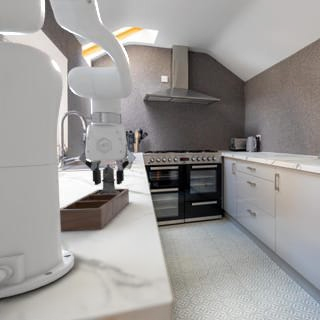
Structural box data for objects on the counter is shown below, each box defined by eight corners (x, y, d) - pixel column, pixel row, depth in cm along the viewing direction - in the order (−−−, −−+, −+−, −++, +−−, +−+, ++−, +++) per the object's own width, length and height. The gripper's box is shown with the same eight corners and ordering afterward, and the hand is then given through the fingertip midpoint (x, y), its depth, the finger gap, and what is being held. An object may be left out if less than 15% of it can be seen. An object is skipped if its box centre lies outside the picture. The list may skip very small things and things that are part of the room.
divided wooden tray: (101, 228, 56) (100, 208, 56) (56, 231, 55) (55, 210, 54) (128, 202, 81) (128, 188, 80) (98, 203, 79) (98, 189, 79)
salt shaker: (124, 203, 78) (123, 163, 77) (113, 208, 72) (111, 165, 71) (106, 202, 79) (104, 163, 78) (93, 207, 73) (91, 164, 72)
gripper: (67, 118, 69) (70, 187, 70) (135, 119, 72) (137, 185, 73) (79, 120, 76) (81, 182, 77) (141, 121, 79) (142, 181, 80)
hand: (108, 183), depth 75 cm, fingers open, 5 cm apart
